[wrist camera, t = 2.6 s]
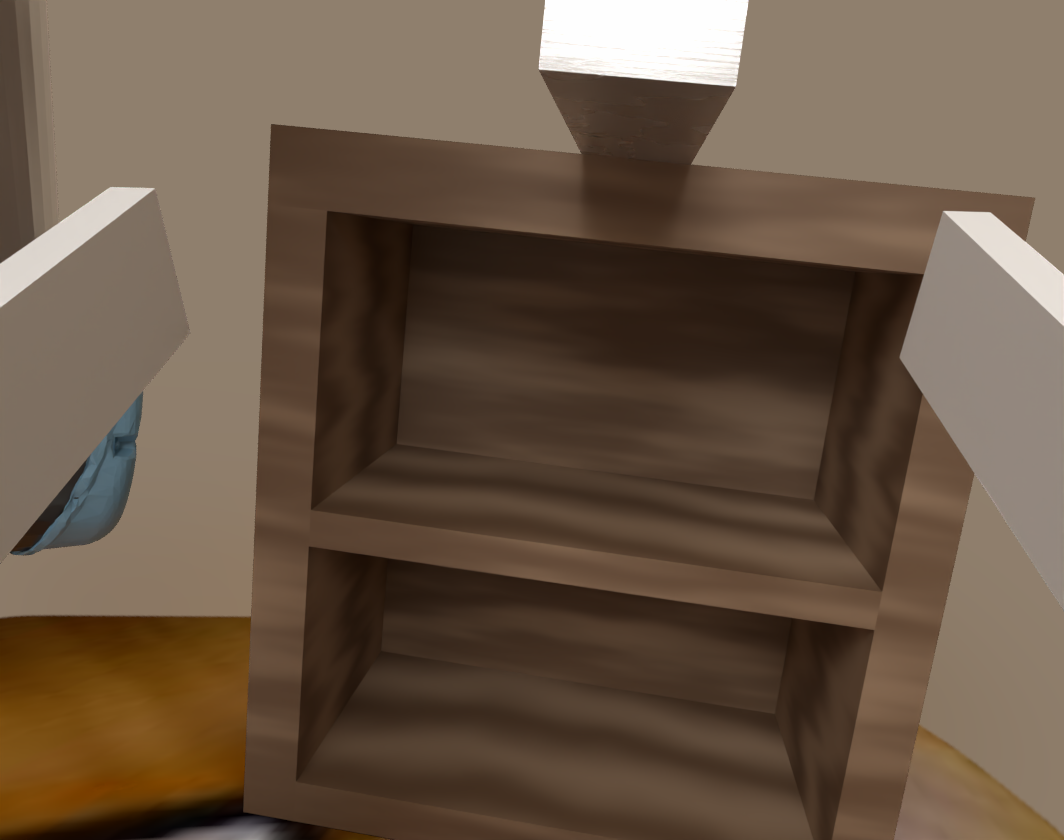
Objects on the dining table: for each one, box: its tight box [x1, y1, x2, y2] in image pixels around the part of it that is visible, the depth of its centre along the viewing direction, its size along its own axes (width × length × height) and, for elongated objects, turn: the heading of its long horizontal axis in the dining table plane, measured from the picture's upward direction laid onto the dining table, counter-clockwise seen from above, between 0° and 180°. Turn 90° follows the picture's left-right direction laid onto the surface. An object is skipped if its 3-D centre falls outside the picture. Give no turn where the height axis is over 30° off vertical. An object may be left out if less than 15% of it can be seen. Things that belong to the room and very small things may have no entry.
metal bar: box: [539, 0, 748, 165], centre depth 30 cm, size 30×7×10 cm, turn 173°
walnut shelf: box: [243, 124, 1035, 840], centre depth 40 cm, size 14×28×30 cm, turn 83°
